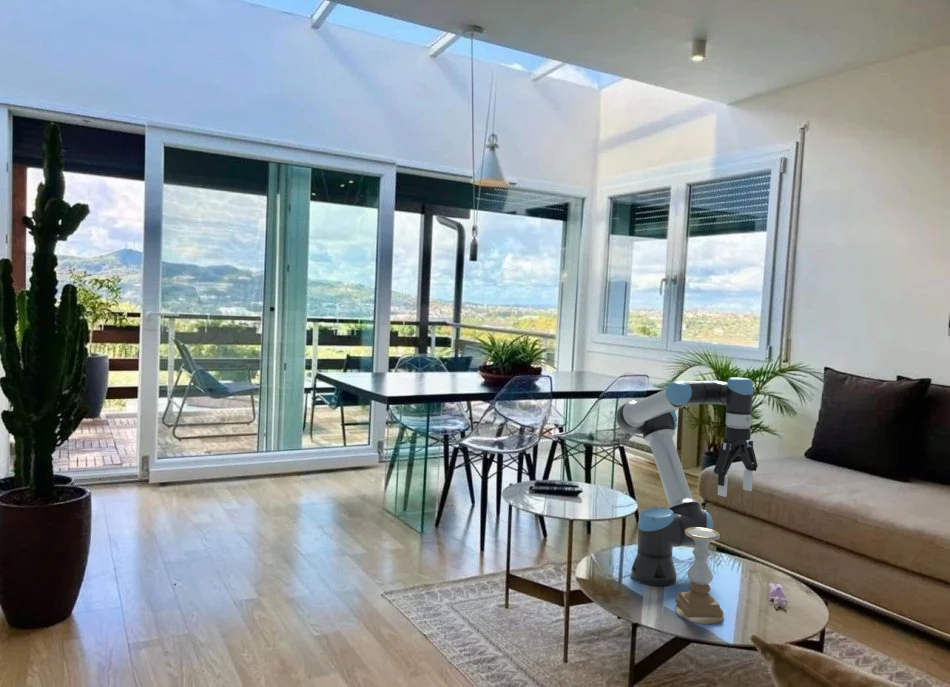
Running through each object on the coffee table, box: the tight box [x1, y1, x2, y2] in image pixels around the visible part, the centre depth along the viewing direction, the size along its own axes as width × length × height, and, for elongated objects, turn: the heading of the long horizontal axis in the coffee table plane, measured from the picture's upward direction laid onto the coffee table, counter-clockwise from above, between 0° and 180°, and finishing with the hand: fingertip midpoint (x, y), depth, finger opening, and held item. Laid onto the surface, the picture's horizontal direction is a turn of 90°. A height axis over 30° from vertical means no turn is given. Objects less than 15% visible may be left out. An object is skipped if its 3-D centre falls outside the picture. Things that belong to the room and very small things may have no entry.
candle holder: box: [675, 527, 724, 617], centre depth 206 cm, size 11×11×24 cm
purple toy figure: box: [767, 582, 791, 611], centre depth 217 cm, size 6×6×15 cm
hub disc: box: [675, 603, 725, 625], centre depth 206 cm, size 14×14×1 cm
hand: (734, 493), depth 215 cm, fingers open, 13 cm apart
